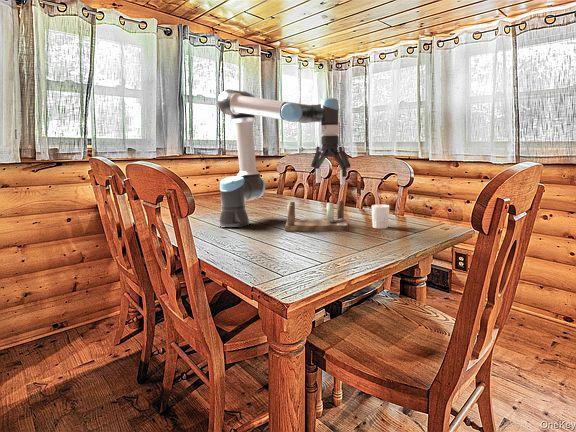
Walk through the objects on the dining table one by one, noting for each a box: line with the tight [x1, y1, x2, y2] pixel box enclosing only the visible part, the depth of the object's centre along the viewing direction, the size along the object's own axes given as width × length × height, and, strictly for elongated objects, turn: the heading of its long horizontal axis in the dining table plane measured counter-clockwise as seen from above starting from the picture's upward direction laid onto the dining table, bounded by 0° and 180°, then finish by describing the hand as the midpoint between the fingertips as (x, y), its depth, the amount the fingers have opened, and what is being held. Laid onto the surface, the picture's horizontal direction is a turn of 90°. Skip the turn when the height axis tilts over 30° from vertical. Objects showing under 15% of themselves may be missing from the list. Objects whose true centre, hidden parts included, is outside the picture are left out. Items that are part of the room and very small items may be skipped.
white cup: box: [371, 203, 390, 230], centre depth 173 cm, size 8×8×10 cm
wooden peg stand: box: [284, 200, 349, 233], centre depth 175 cm, size 28×13×12 cm, turn 87°
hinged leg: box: [326, 202, 343, 223], centre depth 174 cm, size 9×3×9 cm, turn 116°
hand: (330, 183), depth 171 cm, fingers open, 13 cm apart
